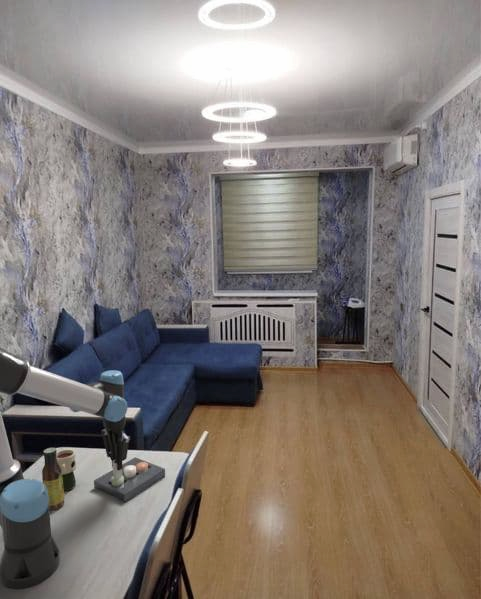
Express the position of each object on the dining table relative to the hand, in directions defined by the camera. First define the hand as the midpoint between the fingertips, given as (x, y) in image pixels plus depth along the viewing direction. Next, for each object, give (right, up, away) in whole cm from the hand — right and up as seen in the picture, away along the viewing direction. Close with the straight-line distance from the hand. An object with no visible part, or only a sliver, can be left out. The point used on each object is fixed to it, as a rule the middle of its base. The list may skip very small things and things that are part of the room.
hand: (117, 477), depth 160 cm
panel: (+3, -4, +6) cm, 8 cm away
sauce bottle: (-19, -6, -8) cm, 22 cm away
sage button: (0, -4, 0) cm, 4 cm away
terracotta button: (+7, -3, +10) cm, 13 cm away
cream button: (+3, -2, +5) cm, 6 cm away
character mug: (-19, -5, +3) cm, 20 cm away
